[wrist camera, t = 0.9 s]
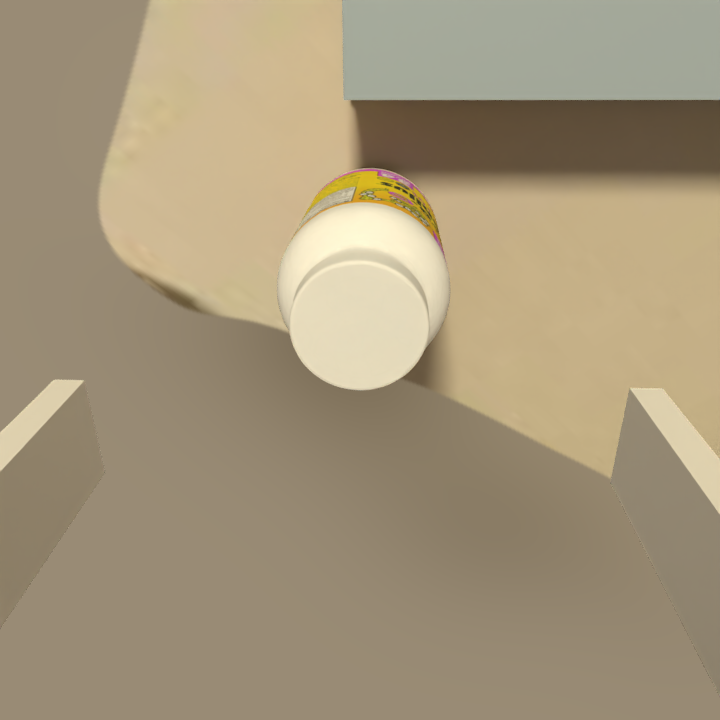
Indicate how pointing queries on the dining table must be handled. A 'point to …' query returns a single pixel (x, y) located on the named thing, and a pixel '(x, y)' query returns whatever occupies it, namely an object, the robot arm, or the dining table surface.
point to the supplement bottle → (364, 280)
